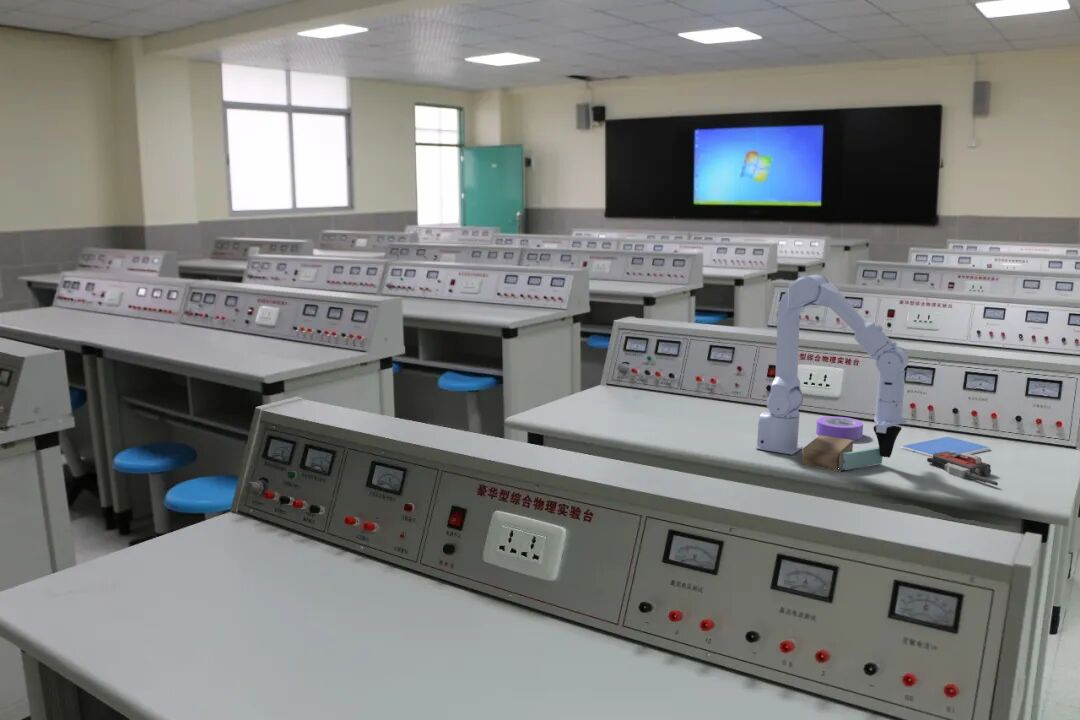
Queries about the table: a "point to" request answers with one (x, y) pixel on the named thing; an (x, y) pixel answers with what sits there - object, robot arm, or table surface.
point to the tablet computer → (945, 447)
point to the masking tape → (839, 427)
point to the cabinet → (826, 452)
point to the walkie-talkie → (962, 465)
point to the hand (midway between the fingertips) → (885, 456)
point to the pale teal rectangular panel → (861, 458)
